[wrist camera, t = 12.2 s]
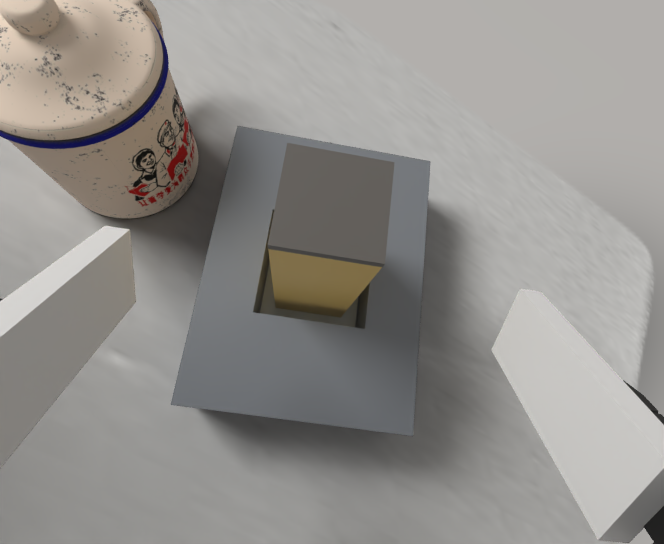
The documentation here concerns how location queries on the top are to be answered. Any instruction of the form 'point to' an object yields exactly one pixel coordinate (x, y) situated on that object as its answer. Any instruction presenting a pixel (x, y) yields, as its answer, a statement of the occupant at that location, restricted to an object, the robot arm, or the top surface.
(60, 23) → the teacup with lid
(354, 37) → the top surface
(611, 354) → the top surface
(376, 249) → the plug
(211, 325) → the socket plate
